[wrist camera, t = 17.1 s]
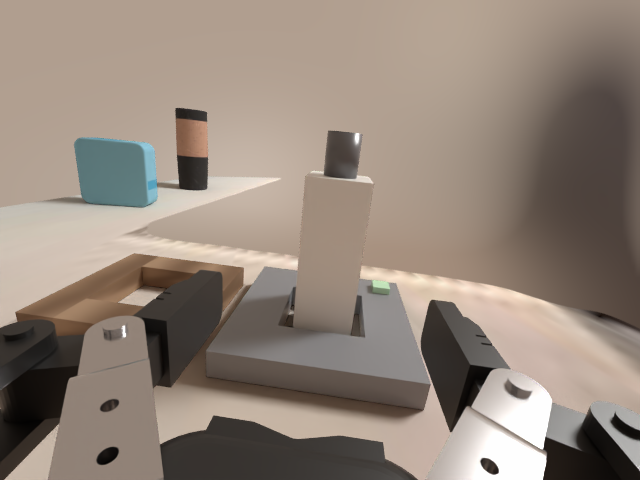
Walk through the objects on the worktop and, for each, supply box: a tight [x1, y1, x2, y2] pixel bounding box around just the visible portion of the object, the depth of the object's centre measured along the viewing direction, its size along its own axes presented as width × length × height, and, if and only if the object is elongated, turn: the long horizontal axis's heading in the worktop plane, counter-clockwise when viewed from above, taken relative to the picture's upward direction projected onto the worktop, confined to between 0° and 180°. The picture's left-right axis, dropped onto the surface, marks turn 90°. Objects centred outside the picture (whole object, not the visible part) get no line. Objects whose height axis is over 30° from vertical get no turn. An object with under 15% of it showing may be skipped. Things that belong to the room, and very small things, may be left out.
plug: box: [293, 131, 374, 336], centre depth 23 cm, size 4×4×16 cm
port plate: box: [206, 267, 431, 410], centre depth 25 cm, size 14×14×3 cm
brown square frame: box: [15, 253, 244, 336], centre depth 26 cm, size 12×12×2 cm
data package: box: [74, 138, 158, 207], centre depth 58 cm, size 12×4×12 cm, turn 95°
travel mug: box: [175, 108, 208, 190], centre depth 80 cm, size 8×8×20 cm
